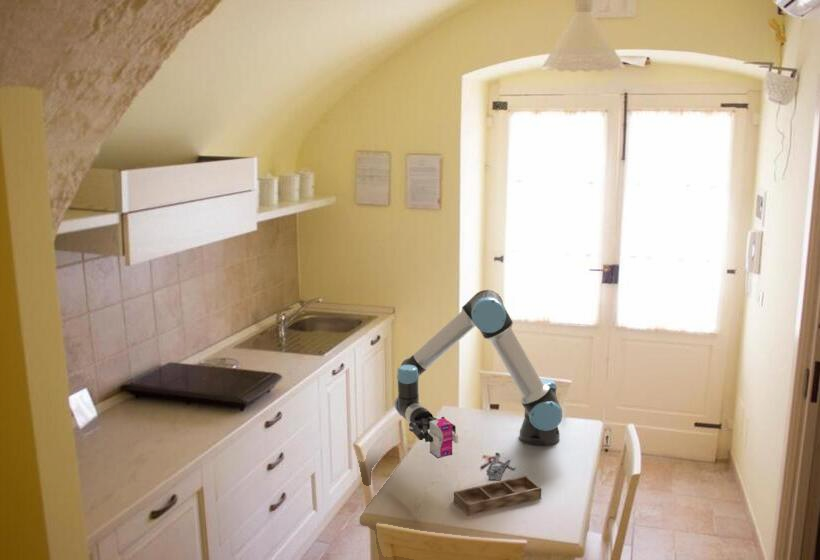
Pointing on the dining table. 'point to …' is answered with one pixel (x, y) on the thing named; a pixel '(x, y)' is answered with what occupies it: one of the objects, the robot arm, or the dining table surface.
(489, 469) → the grey irregular piece
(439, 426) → the supplement box
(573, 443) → the dining table surface
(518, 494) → the brown wooden compartment tray
